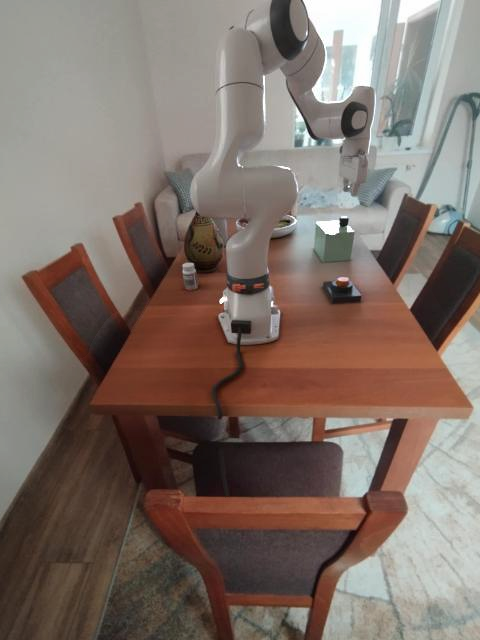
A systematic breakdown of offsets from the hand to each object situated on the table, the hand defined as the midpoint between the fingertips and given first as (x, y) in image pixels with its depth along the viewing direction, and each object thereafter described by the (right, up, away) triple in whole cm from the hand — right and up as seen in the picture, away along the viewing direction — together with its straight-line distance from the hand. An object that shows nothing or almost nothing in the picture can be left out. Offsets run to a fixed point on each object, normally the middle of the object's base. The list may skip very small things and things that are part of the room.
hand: (349, 194), depth 121 cm
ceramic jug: (-54, -24, +11) cm, 60 cm away
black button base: (-7, -40, -13) cm, 43 cm away
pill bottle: (-58, -35, -3) cm, 68 cm away
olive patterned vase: (-53, -6, +33) cm, 63 cm away
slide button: (0, -8, +10) cm, 12 cm away
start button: (-7, -37, -15) cm, 41 cm away
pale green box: (-3, -16, +16) cm, 23 cm away
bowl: (-28, +5, +46) cm, 54 cm away
